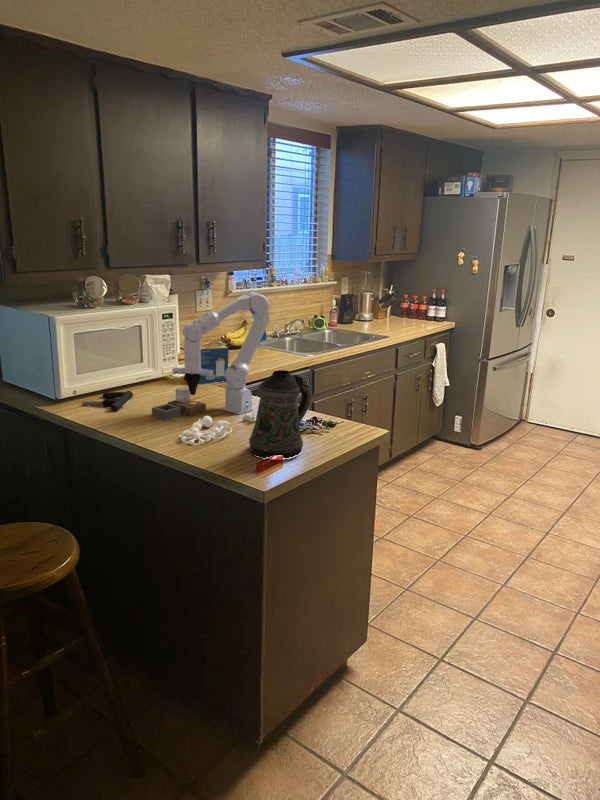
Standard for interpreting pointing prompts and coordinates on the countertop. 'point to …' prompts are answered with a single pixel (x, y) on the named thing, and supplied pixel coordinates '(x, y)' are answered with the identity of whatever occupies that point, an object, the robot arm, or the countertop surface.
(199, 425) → the tangled rod sculpture
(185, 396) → the steel peg
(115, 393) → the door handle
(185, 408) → the socket block
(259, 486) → the countertop surface
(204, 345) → the protein box
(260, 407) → the beer stein
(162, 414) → the grey square frame
